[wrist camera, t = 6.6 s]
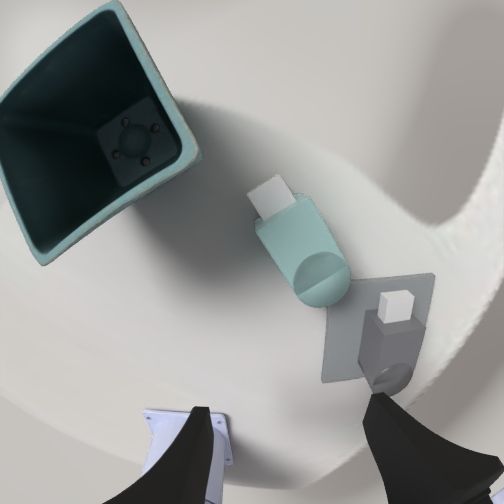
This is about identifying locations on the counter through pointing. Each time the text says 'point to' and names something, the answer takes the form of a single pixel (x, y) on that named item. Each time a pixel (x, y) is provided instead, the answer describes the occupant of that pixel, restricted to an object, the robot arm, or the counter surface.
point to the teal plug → (300, 243)
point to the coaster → (352, 318)
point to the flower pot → (88, 132)
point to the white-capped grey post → (390, 343)
